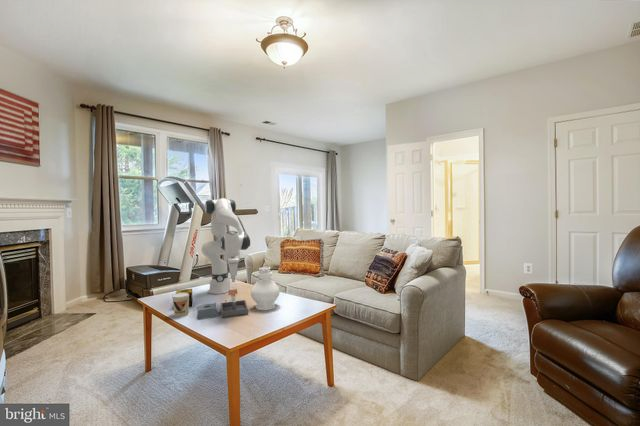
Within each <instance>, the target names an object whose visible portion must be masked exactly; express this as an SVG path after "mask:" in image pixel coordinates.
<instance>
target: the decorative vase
mask: <svg viewBox="0 0 640 426" xmlns="http://www.w3.org/2000/svg"><path fill="white" fill-rule="evenodd" d="M256 275H257V277H258V278H259V279H258V280H257V281H256V283H255V284H254V285H253V286H252V289H251V292H250V296H251V299H252V300H253V301H254V302H255V303H256V305H255V309H256V310H258V311H259V310H260V311H268V310H273V309H275V308H276V304H275V302H276V301H277V299H278V298H279V296H280V287H279V286H278V285H277V283H276V282H275V281H274V280H273V279H272V278H271V277H272V276H273V272H272V271H271V267H270V266H261V267H259V268H258V272H257V274H256Z"/></svg>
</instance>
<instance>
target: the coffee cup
mask: <svg viewBox="0 0 640 426" xmlns="http://www.w3.org/2000/svg"><path fill="white" fill-rule="evenodd" d="M172 304H173V305H172V306H173V314H174V317H176V316H177V317H176V318H181V317H186V316H187V315H189V308H190V307H189V294H188V293H179V294H173V296H172Z"/></svg>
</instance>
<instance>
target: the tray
mask: <svg viewBox="0 0 640 426" xmlns="http://www.w3.org/2000/svg"><path fill="white" fill-rule="evenodd" d="M235 302H236V310H232V301H225V302H221V303H220V306H221V308H220V309H221V319H226V318H227V319H228V318H234V317H240V316H246V315H247V316H248V315H249V308H248V305H247V301H246V300H245V299H242V300H241V299H240V300H235Z"/></svg>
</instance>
